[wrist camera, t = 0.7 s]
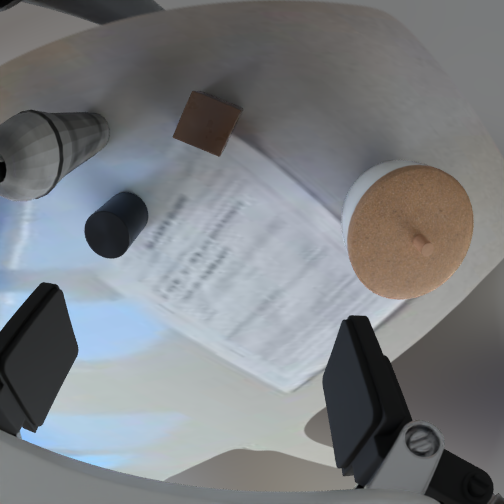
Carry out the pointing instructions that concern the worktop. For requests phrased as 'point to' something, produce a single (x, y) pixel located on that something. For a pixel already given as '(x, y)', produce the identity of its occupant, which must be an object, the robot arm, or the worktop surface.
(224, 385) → the worktop surface
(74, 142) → the beverage cup
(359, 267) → the lidded bowl
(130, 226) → the black cylinder
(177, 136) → the walnut block
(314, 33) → the worktop surface
